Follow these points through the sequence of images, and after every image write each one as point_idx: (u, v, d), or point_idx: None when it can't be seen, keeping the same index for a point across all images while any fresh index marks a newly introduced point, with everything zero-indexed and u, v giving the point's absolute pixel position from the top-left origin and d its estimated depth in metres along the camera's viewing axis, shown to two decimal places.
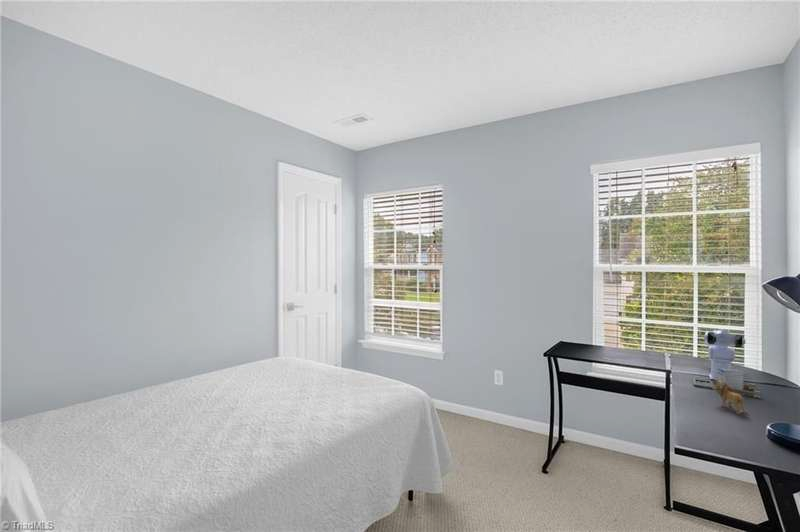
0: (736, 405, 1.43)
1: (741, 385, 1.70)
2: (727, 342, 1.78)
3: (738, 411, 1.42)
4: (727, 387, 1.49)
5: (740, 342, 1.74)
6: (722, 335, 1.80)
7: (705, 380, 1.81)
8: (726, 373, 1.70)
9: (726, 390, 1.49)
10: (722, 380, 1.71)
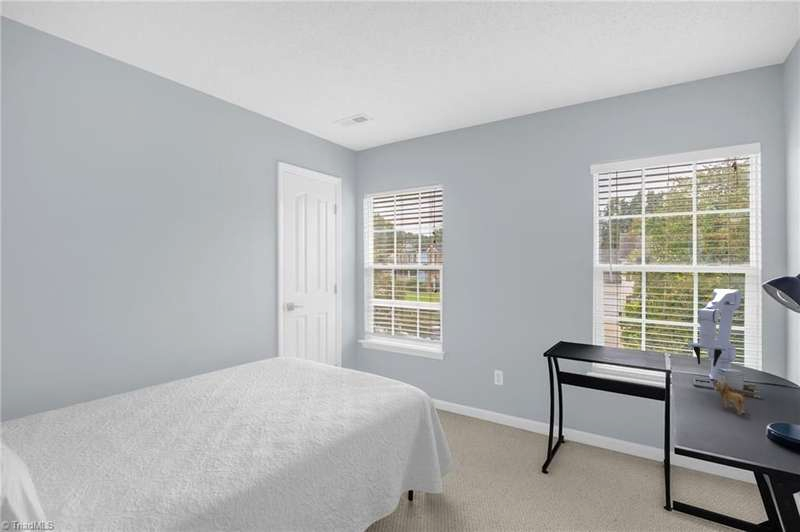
0: (737, 406, 1.42)
1: (741, 385, 1.70)
2: None
3: (739, 412, 1.41)
4: (728, 388, 1.49)
5: None
6: None
7: (705, 380, 1.81)
8: (727, 373, 1.70)
9: (727, 391, 1.49)
10: (722, 380, 1.71)
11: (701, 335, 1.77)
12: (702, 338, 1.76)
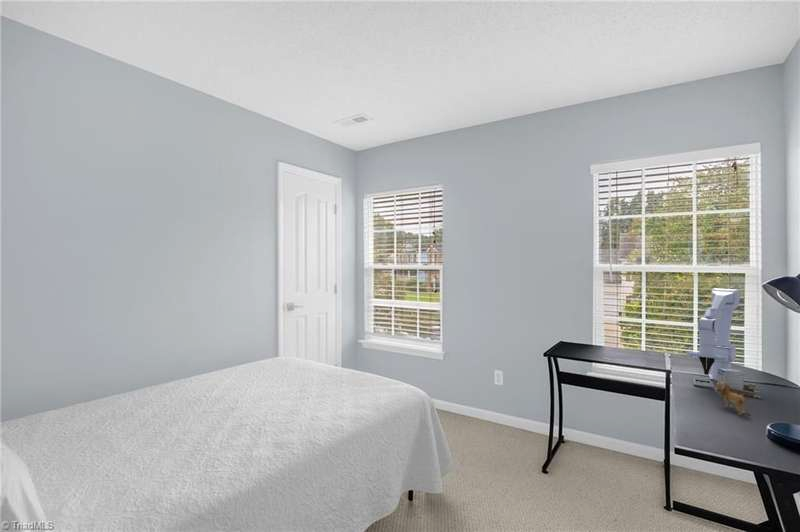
0: (738, 406, 1.42)
1: (741, 385, 1.70)
2: None
3: (740, 412, 1.41)
4: (729, 388, 1.49)
5: None
6: None
7: (705, 380, 1.81)
8: (727, 373, 1.70)
9: (727, 391, 1.48)
10: (722, 380, 1.71)
11: (701, 344, 1.77)
12: (702, 347, 1.76)
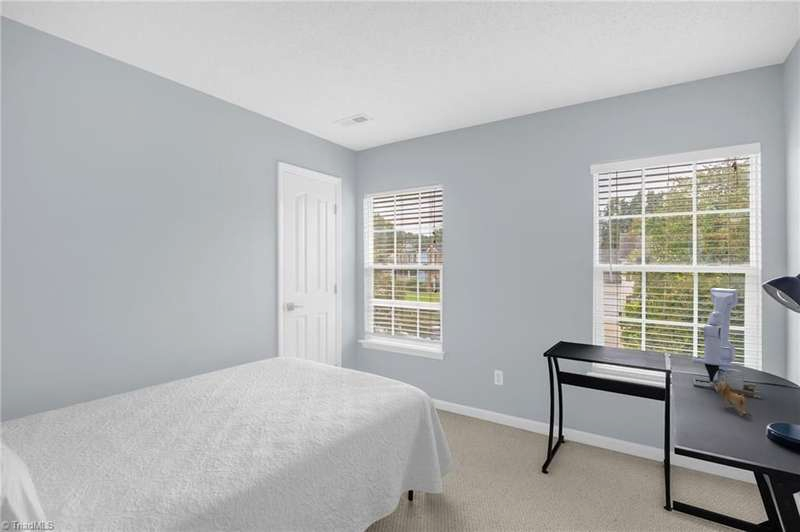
0: (739, 406, 1.41)
1: (741, 385, 1.70)
2: None
3: (741, 412, 1.40)
4: (730, 388, 1.48)
5: None
6: None
7: (705, 380, 1.81)
8: (727, 373, 1.70)
9: (728, 391, 1.48)
10: (722, 380, 1.71)
11: (706, 351, 1.76)
12: (707, 354, 1.75)
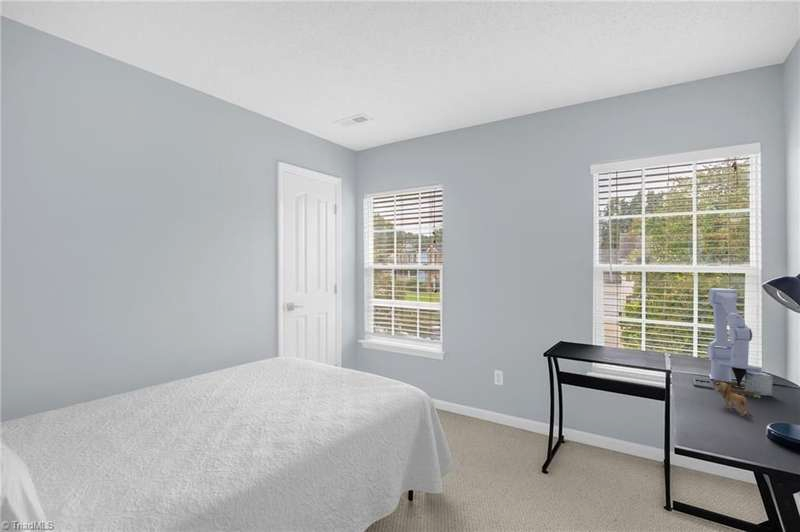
0: (740, 407, 1.41)
1: (770, 389, 1.64)
2: None
3: (742, 413, 1.40)
4: (730, 389, 1.48)
5: None
6: None
7: (705, 380, 1.81)
8: (755, 377, 1.65)
9: (729, 392, 1.48)
10: (750, 384, 1.66)
11: (733, 355, 1.70)
12: (734, 358, 1.69)
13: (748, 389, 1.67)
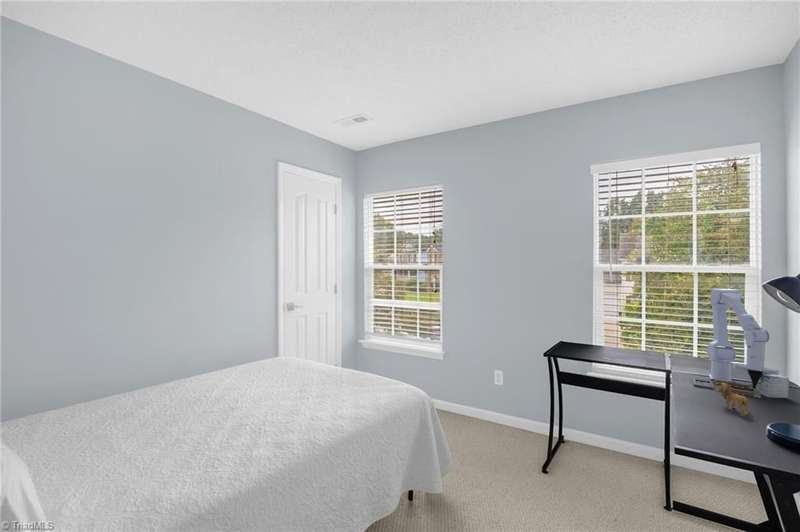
0: (741, 407, 1.41)
1: (786, 392, 1.62)
2: None
3: (743, 413, 1.40)
4: (731, 389, 1.48)
5: None
6: None
7: (705, 380, 1.81)
8: (772, 379, 1.62)
9: (730, 392, 1.47)
10: (766, 387, 1.63)
11: (748, 357, 1.67)
12: (750, 360, 1.66)
13: (764, 392, 1.64)
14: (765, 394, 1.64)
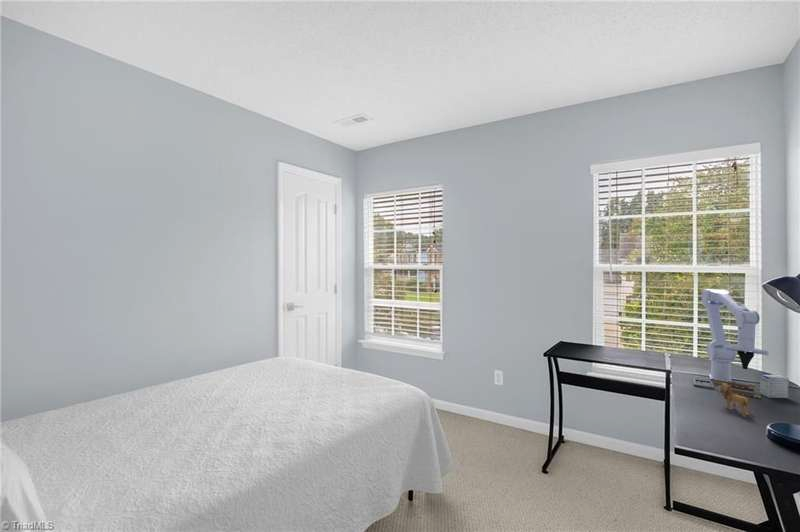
0: (742, 407, 1.40)
1: (786, 392, 1.62)
2: None
3: (744, 414, 1.39)
4: (732, 389, 1.47)
5: None
6: None
7: (705, 380, 1.81)
8: (771, 379, 1.62)
9: (730, 392, 1.47)
10: (766, 387, 1.63)
11: (739, 338, 1.71)
12: (741, 341, 1.70)
13: (764, 392, 1.64)
14: (765, 394, 1.64)
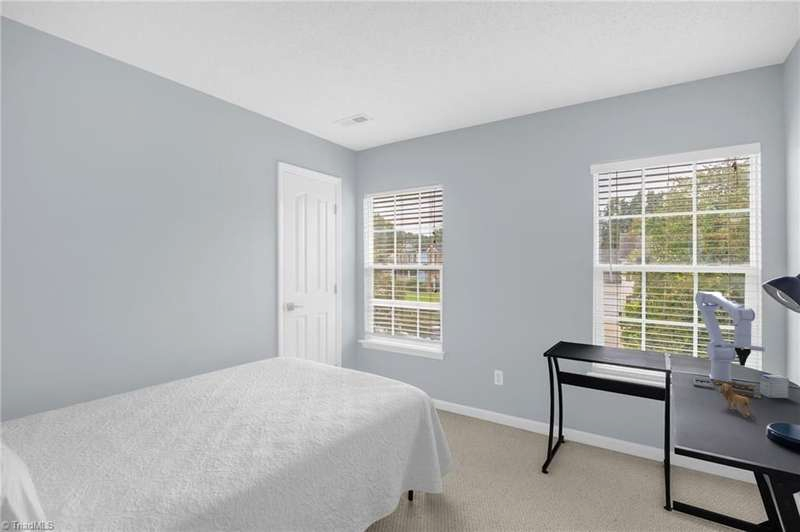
0: (743, 408, 1.40)
1: (786, 392, 1.62)
2: None
3: (745, 414, 1.39)
4: (733, 390, 1.47)
5: None
6: None
7: (705, 380, 1.81)
8: (771, 379, 1.62)
9: (731, 393, 1.46)
10: (766, 387, 1.63)
11: (736, 335, 1.74)
12: (738, 338, 1.73)
13: (764, 392, 1.64)
14: (765, 394, 1.64)
